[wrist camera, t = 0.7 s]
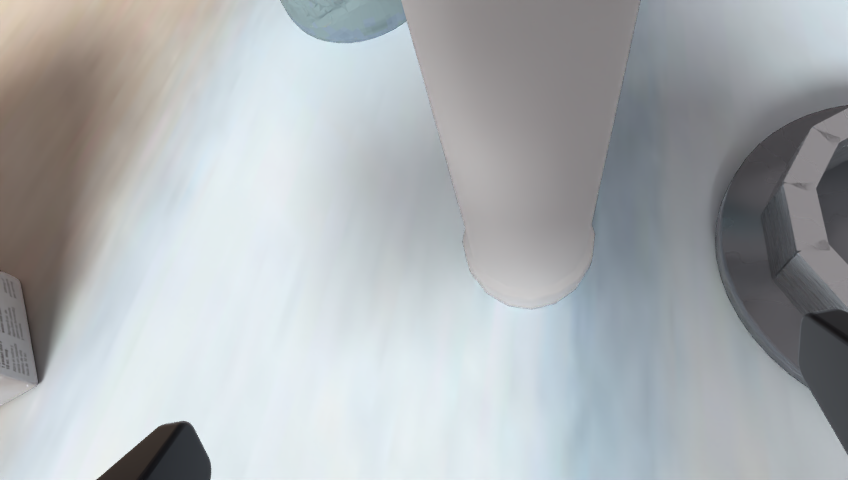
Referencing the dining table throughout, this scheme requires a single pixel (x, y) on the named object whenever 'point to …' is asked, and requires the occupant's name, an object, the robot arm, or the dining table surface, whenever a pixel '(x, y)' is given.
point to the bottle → (524, 129)
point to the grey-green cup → (345, 18)
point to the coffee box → (14, 342)
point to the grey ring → (788, 232)
